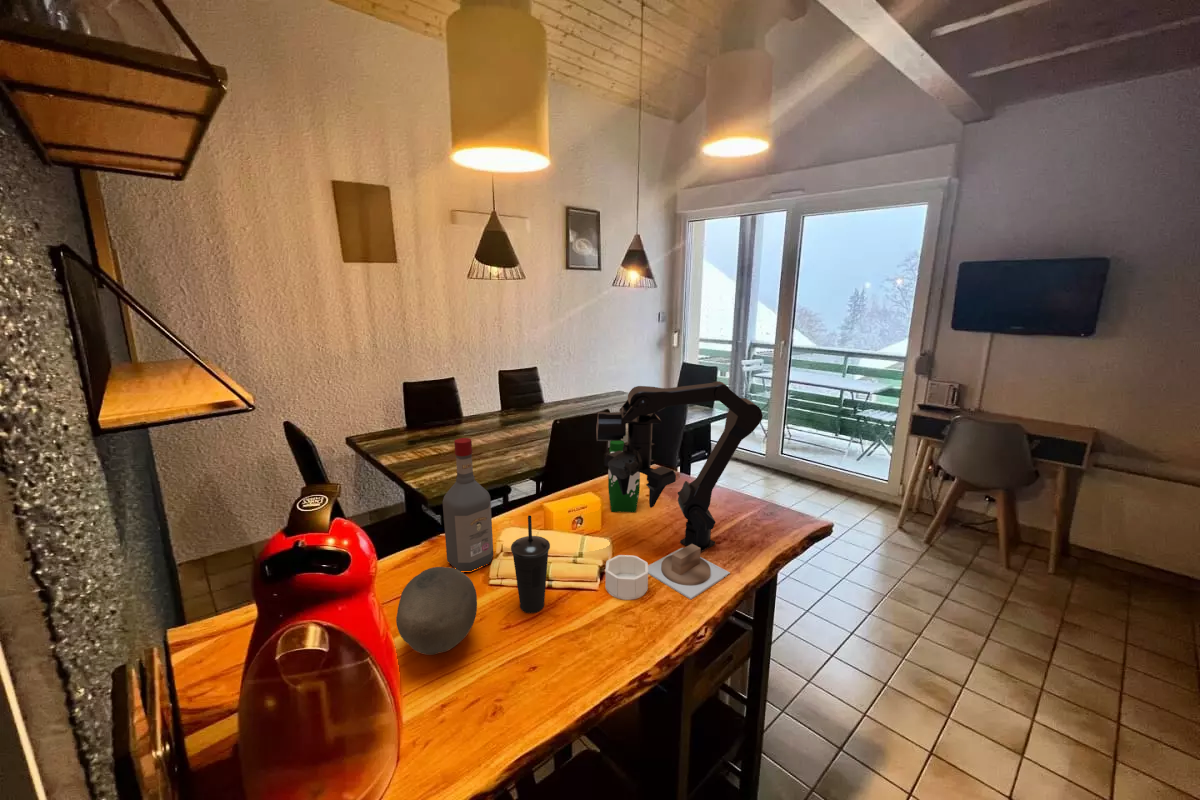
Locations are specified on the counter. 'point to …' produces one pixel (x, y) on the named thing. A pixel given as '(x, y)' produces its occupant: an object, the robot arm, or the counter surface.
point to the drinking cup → (531, 569)
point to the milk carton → (615, 495)
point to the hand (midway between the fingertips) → (637, 500)
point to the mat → (688, 590)
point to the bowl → (626, 577)
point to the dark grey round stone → (436, 610)
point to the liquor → (467, 515)
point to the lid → (686, 567)
